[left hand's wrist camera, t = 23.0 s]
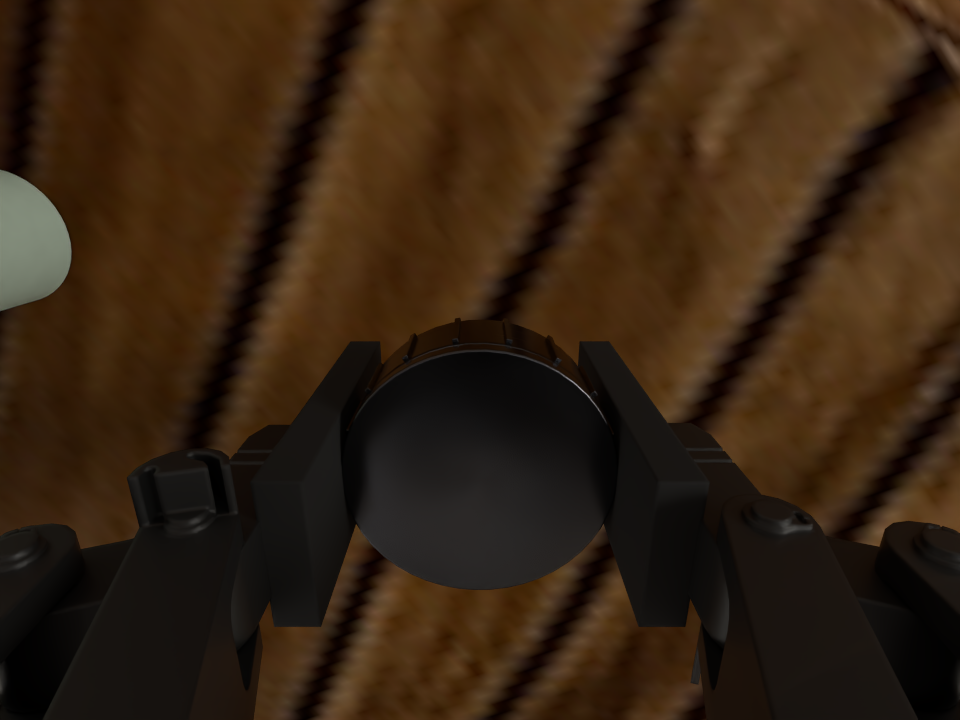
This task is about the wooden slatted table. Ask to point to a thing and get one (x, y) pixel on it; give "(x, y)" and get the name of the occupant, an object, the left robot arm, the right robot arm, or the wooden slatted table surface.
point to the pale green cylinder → (29, 243)
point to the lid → (479, 457)
